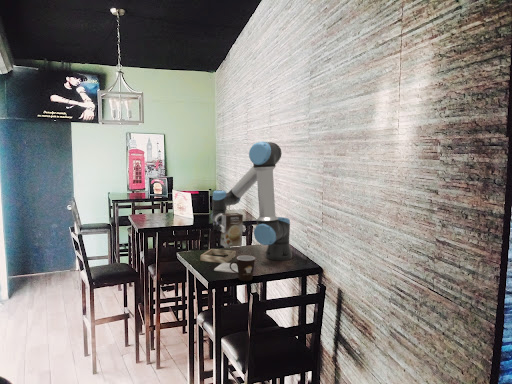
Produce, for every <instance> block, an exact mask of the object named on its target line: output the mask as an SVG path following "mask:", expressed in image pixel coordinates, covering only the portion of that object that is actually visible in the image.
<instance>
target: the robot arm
mask: <svg viewBox="0 0 512 384" xmlns="http://www.w3.org/2000/svg"><path fill="white" fill-rule="evenodd" d="M248 157H249V159H250V161H251V162H252V164H253V165H252V166H251V168H250V169H249V170H248V171H247V172H246V173H245V174H244V175H243V176H242V177H241V178H240V179H239V180H238V181H237V182H236V183H235V185H233V186H232V187H231V189H230V190H229V191H228V192H227V191H226V190H214V191H212V198H211V199H212V211H211V212H212V213H211V214H210V219H211V221H212V223H213V224H212V227H213V230H214V231H215V230H216V231H217V232H223V233H225V227H224V226H222V225H221V224H222V214H227V212H226V211H227V210H226V209H227V208H226V207H228V206H234V205H237V204H239V202H241V199H242V197H244V195H245V194H246V193H247V192H248V191H249V190H250V189H251V187H253V186H254V185H255V184H256V183H257V198H258V213H259V216H258V217H257V219H256V226H255V227H254V230H253V235H254V236H253V237H254V238H255V240H256V241H257V243H259V244H260V245H262V246H267V247H266V250H265V253H264V255H265V256H264V257H265V258H266V259H267V260H271V261H278V262H280V261H289V260H291V259H292V257H293V253H292V250H291V246H290V230H291V229H290V228H291V222H290V221H291V219H290V218H288V217H282V216H277V215H276V200H275V199H276V198H275V184H274V170H275V168H276V165H277V163H279V161H280V160H281V158H282V149H281V147H280V145H278V144H277V143H275V142H271V141H269V142H268V141H258V142H256V143H253V145H251V147H250V149H249V152H248ZM246 229H247V223H246V222H243V225H242V233H245V232H246Z"/></svg>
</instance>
